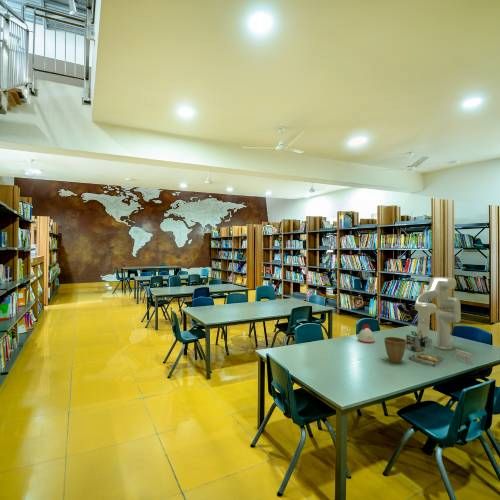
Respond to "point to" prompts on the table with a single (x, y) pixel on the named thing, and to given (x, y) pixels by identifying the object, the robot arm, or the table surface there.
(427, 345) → the grey block
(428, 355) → the hinge base
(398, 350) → the plant pot
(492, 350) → the table surface
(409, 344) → the model building
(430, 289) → the robot arm
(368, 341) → the cupcake
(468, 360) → the cassette
